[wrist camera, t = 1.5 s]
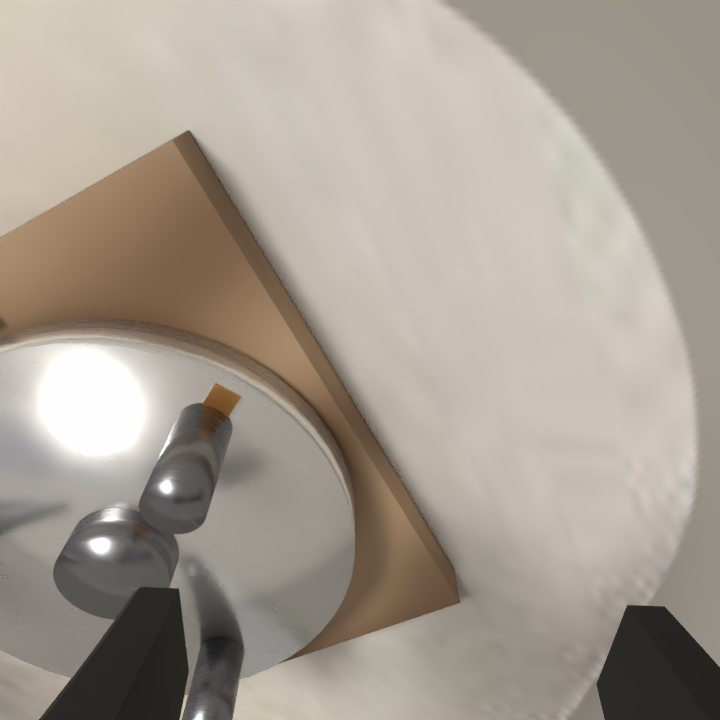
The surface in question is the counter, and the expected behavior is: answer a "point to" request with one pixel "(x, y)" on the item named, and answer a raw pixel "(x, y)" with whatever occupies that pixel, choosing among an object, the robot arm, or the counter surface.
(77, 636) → the capstan dial
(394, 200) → the counter surface
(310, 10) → the counter surface
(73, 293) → the tan base board
